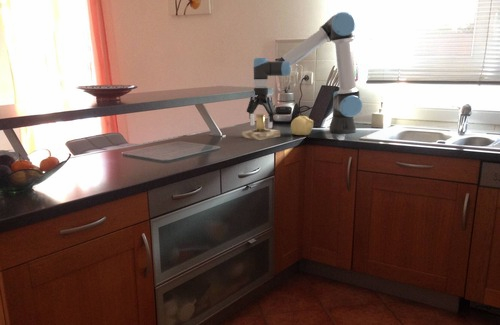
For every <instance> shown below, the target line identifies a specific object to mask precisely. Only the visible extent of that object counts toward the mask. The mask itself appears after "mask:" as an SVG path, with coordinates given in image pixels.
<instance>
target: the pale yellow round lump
mask: <svg viewBox="0 0 500 325" xmlns="http://www.w3.org/2000/svg"><path fill="white" fill-rule="evenodd" d="M314 122H315V121H314V120H313V119H311V118H309V116H307V115H298V116H297V117H295V118H294V119H292V121H291V123H290V130H291V132H292V134H293V135H295V136H308V135H309V134H311V131H312V130H313V128H314Z"/></svg>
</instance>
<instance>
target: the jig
mask: <svg viewBox="0 0 500 325" xmlns="http://www.w3.org/2000/svg"><path fill="white" fill-rule="evenodd" d="M277 137H279V138H280V137H281V130H277V129H272V128H265V131H263V132H259V131H257V128H256V129H249V130H244V131H243V130H242V131H241V138H246V139H252V140H259V141H261V140H266V139H267V140H268V139H272V138H277Z"/></svg>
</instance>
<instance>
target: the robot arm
mask: <svg viewBox="0 0 500 325" xmlns="http://www.w3.org/2000/svg"><path fill="white" fill-rule="evenodd" d="M355 28H356V19H355V17H354V16H353V15H352V14H351V13H350V12H346V11H340V12H337V13H336V14H334V15H333V16H331V17H330V18H329V19H328V20H327V21H326V22H324V23H323V24H322V25H321V26H319V29H318V30H317V31H316V32H315V33H313V34H312V35H310V36H308V38H306V39H305V40H303V41H302V42H300V43H299V44H298V45H296V46H295V47H293V48H292V49H290V50H289V51H288V52H286V53H285V54H283V55H282V56H281V57H279V58H278V59H276V60H274V61H269V58H268V57H255V58H253V87H254V88H253V92H254V91H255V95H258V96H257V97H251V96H250V97H251V98H249V99H250V100H249V103H248V105H247V108H246V112H247V113H248V114H249V125H250V126H251V127H252V126H255V124H256V123H255V121H256V120H255V111H256V110H257V108H258V106H263V107H264V109H265V111H266V113H267V114H268V115H267V129H272V128H273V122H274V116H276V115H277V111H276V109H275V105H274V103H273V98H272V96H268V94H269V88H268V84H269V80H268V79H269V77H273V76H275V77H280V76H281V77H282V76H283V77H286V76H290V75H291V67H293V66H295V65H296V64H297V63H299V62H300V61H301V60H303V59H304V58H306V57H307V56H309V55H310V54H311V53H313V52H314V51H315V50H317V49H318V48H320V47H321V46H323V45H324V44H326V43H330V42H332V43H333V44H335V53H336V57H335V58H336V65H337V66H336V67H337V76H338V77H337V78H338V85H339V88H338V90H337V91H334V92H333V96H332V99H333V100H332V120H331V122H330V124H329V127H328V128H329V132H330V133H334V134H335V133H336V134H353V133H357V132H356V131H357V127H356V123H355V120H354V119H355V118H354V117H356V116H358V115H359V114H360V113H361V112H362V109H363V101H362V99H361V98H360V89H358V88H357V87H356V86H357V85H356V75H355V63H354V62H355V60H354V51H353V41H354V39H355ZM255 95H254V96H255Z"/></svg>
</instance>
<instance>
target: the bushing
mask: <svg viewBox="0 0 500 325" xmlns="http://www.w3.org/2000/svg"><path fill="white" fill-rule="evenodd" d="M255 117H256V120H255V121H256V129H257V131H259V132H263V131H265V129H266V114H263V113H262V114H261V113H259V114H255Z"/></svg>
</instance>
